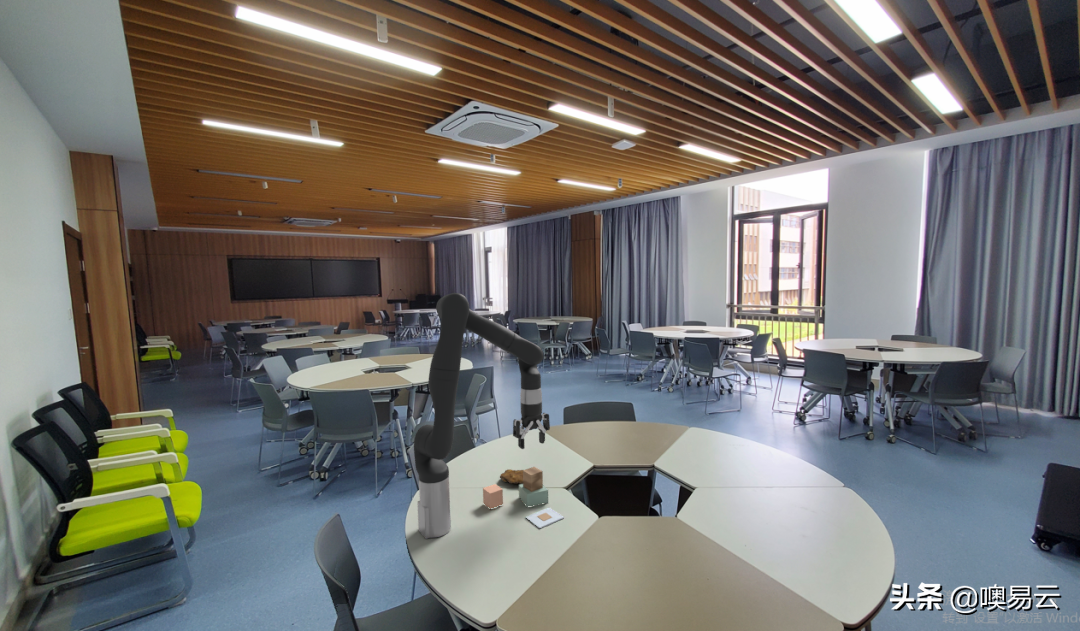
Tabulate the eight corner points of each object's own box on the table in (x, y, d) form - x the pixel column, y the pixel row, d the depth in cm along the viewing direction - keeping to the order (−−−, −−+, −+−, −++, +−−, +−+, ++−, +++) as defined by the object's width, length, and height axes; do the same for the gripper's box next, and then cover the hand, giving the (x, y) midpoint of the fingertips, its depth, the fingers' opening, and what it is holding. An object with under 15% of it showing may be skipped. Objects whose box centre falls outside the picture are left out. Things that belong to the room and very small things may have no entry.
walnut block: (531, 491, 151) (531, 475, 151) (523, 486, 155) (522, 470, 155) (542, 487, 154) (542, 471, 154) (534, 482, 158) (534, 466, 158)
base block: (527, 508, 150) (526, 494, 149) (519, 498, 157) (518, 484, 157) (548, 503, 153) (548, 489, 153) (539, 493, 160) (539, 480, 160)
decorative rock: (498, 490, 164) (538, 490, 165) (498, 480, 164) (538, 479, 164) (500, 475, 176) (537, 475, 176) (500, 465, 175) (537, 465, 176)
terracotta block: (490, 510, 149) (490, 493, 148) (483, 504, 153) (482, 488, 152) (503, 505, 152) (502, 489, 151) (495, 500, 156) (495, 483, 155)
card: (539, 528, 137) (539, 527, 137) (525, 518, 143) (525, 516, 143) (564, 518, 143) (564, 516, 143) (549, 508, 149) (549, 506, 149)
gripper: (520, 406, 145) (521, 453, 146) (553, 399, 153) (554, 444, 155) (508, 401, 151) (509, 447, 152) (541, 395, 159) (541, 438, 161)
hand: (532, 445), depth 153 cm, fingers open, 8 cm apart
